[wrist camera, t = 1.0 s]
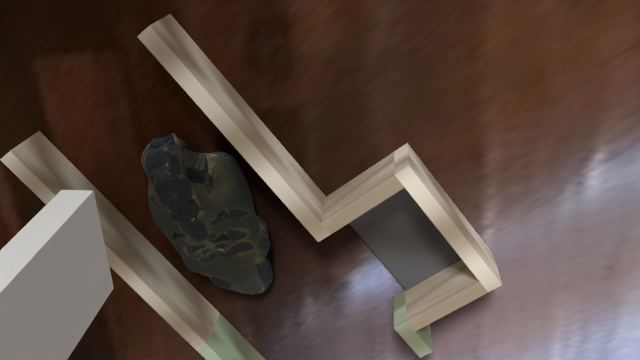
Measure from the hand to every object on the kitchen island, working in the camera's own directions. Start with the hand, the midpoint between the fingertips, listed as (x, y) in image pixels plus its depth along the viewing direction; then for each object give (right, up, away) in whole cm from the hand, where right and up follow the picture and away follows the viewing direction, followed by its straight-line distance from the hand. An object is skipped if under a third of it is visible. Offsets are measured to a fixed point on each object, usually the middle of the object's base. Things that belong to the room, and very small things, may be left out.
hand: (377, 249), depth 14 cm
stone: (-8, 0, +28) cm, 29 cm away
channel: (-5, 0, +27) cm, 28 cm away
